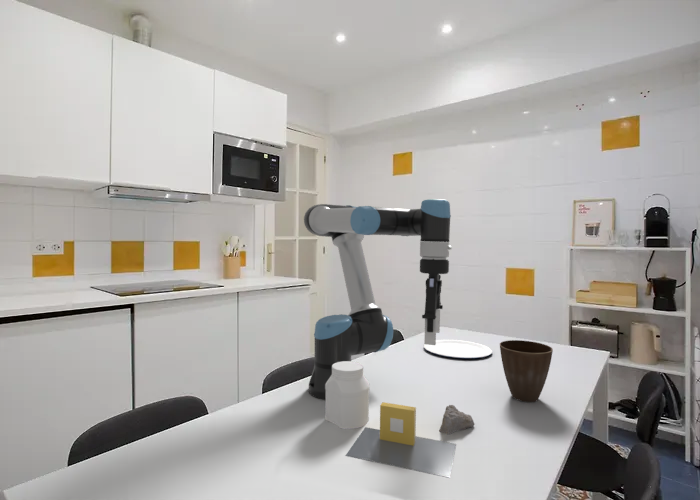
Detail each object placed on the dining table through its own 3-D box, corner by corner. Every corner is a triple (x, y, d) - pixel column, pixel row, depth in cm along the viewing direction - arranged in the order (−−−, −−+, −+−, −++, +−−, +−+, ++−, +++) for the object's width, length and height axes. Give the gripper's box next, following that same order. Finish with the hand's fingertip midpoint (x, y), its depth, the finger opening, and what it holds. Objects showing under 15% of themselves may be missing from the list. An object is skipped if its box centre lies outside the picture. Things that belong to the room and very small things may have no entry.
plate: (502, 362, 159) (502, 357, 159) (430, 360, 159) (430, 356, 159) (479, 343, 188) (480, 339, 188) (418, 342, 189) (418, 338, 188)
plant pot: (542, 412, 111) (543, 356, 111) (490, 397, 121) (491, 346, 121) (557, 397, 122) (558, 346, 122) (509, 385, 132) (510, 337, 132)
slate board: (345, 461, 85) (345, 455, 85) (365, 431, 98) (365, 427, 98) (449, 483, 77) (450, 477, 77) (456, 448, 91) (456, 443, 91)
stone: (463, 444, 93) (463, 420, 93) (431, 434, 98) (431, 411, 97) (477, 429, 101) (477, 406, 101) (446, 420, 105) (447, 398, 105)
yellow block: (379, 439, 92) (380, 405, 92) (382, 435, 94) (382, 402, 94) (413, 446, 89) (414, 411, 89) (415, 441, 91) (415, 407, 91)
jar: (375, 425, 102) (376, 367, 102) (348, 437, 96) (348, 375, 95) (345, 410, 110) (346, 357, 110) (318, 420, 104) (319, 364, 104)
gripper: (446, 261, 91) (444, 352, 92) (451, 256, 115) (449, 329, 116) (413, 260, 93) (411, 348, 94) (425, 256, 117) (423, 326, 118)
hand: (432, 338), depth 105 cm, fingers open, 13 cm apart
